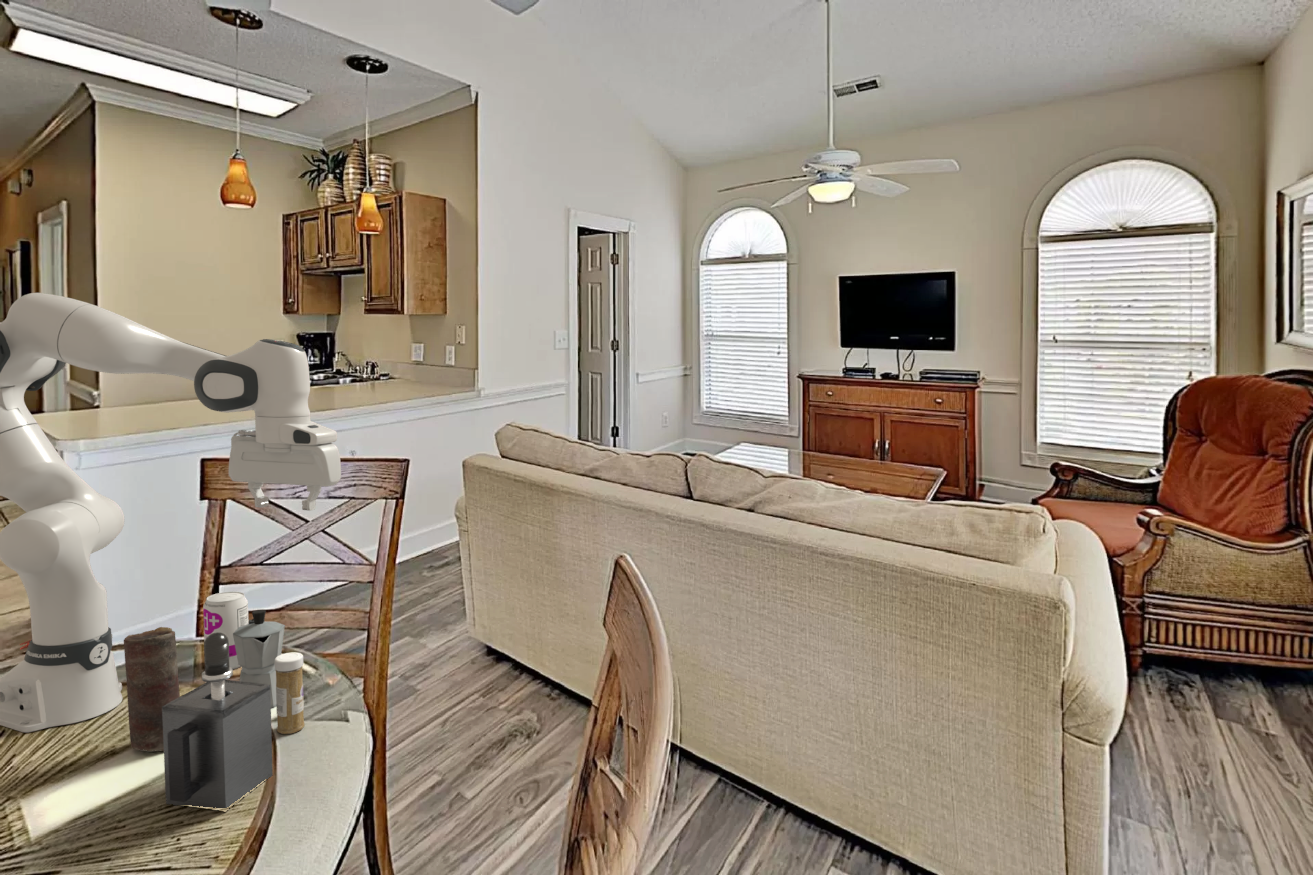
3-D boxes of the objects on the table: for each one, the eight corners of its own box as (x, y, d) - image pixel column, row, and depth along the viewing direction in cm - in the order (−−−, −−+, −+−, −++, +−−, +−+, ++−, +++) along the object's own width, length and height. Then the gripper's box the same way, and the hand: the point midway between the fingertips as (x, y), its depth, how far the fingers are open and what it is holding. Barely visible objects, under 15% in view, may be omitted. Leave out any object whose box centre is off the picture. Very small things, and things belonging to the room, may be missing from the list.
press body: (147, 816, 107) (143, 716, 105) (216, 767, 119) (213, 678, 118) (209, 825, 105) (205, 724, 103) (272, 775, 118) (270, 684, 116)
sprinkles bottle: (306, 730, 132) (305, 658, 131) (277, 737, 130) (276, 663, 128) (302, 720, 136) (301, 649, 135) (274, 726, 133) (272, 654, 132)
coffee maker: (291, 709, 140) (289, 616, 138) (238, 720, 135) (235, 624, 133) (280, 680, 152) (278, 595, 151) (230, 690, 147) (228, 602, 146)
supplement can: (218, 675, 154) (216, 605, 152) (197, 666, 158) (195, 597, 157) (257, 662, 161) (255, 595, 159) (236, 654, 165) (234, 588, 164)
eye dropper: (178, 782, 110) (173, 639, 108) (217, 756, 118) (212, 622, 116) (224, 788, 109) (219, 644, 107) (260, 761, 117) (256, 626, 114)
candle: (125, 760, 121) (119, 642, 119) (132, 740, 127) (127, 627, 125) (180, 750, 124) (176, 635, 122) (185, 731, 131) (180, 621, 129)
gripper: (218, 430, 131) (220, 508, 132) (324, 435, 127) (325, 515, 129) (244, 428, 137) (246, 501, 138) (345, 432, 133) (346, 508, 135)
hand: (285, 508), depth 133 cm, fingers open, 8 cm apart
